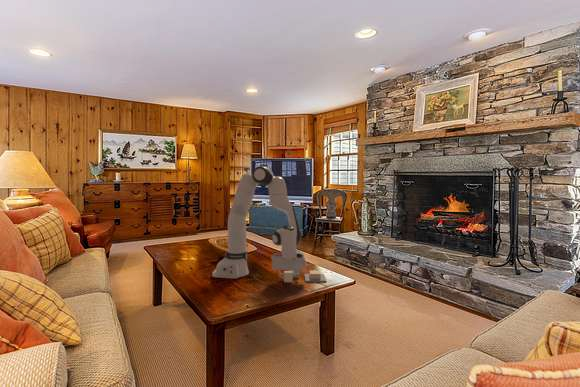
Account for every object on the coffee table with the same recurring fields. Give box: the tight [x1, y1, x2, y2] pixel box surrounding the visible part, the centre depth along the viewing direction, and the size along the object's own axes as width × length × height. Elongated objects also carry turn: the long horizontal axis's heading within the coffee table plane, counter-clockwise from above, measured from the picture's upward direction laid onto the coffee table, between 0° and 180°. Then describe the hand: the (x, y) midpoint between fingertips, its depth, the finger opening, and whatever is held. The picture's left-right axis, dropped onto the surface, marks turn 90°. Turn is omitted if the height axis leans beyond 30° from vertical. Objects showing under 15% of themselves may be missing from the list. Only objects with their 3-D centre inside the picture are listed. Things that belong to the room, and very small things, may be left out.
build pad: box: [303, 270, 327, 283], centre depth 184 cm, size 12×12×4 cm
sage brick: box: [290, 270, 300, 278], centre depth 189 cm, size 5×5×5 cm
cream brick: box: [283, 270, 294, 283], centre depth 181 cm, size 5×5×5 cm
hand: (289, 276), depth 182 cm, fingers open, 8 cm apart
